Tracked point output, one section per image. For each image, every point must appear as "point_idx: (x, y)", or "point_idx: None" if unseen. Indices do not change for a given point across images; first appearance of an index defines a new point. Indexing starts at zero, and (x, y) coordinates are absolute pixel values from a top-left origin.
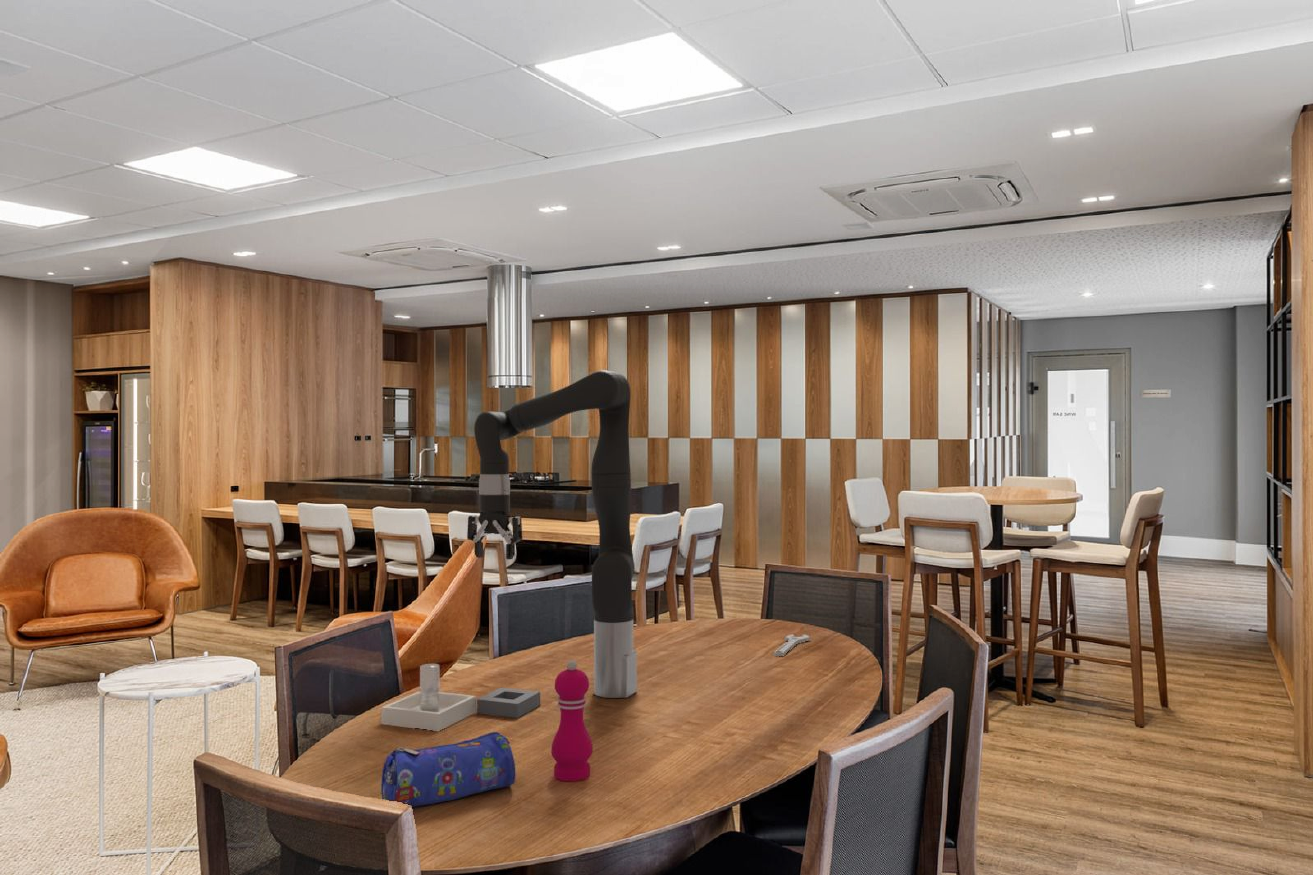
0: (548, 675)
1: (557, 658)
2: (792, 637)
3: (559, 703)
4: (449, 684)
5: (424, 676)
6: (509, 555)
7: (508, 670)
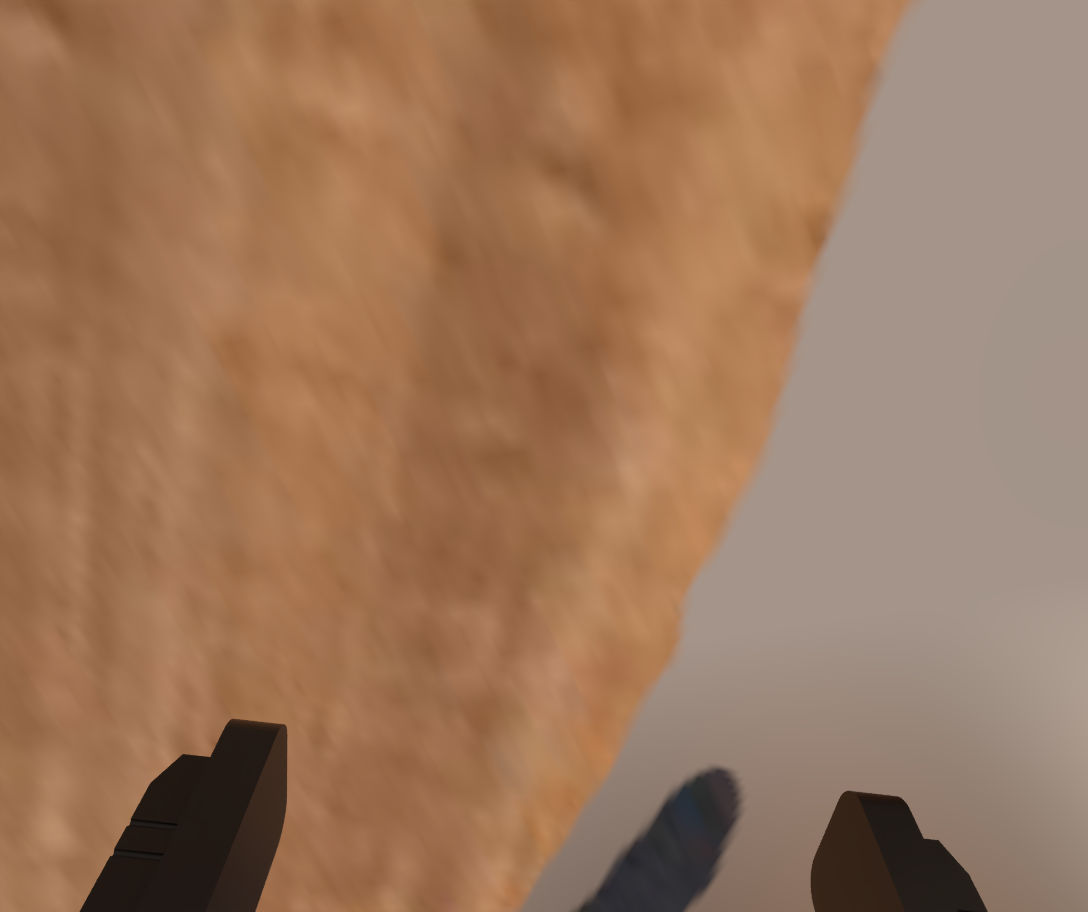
0: (338, 428)
1: (431, 691)
2: None
3: None
4: (770, 160)
5: None
6: (206, 780)
7: (566, 474)
